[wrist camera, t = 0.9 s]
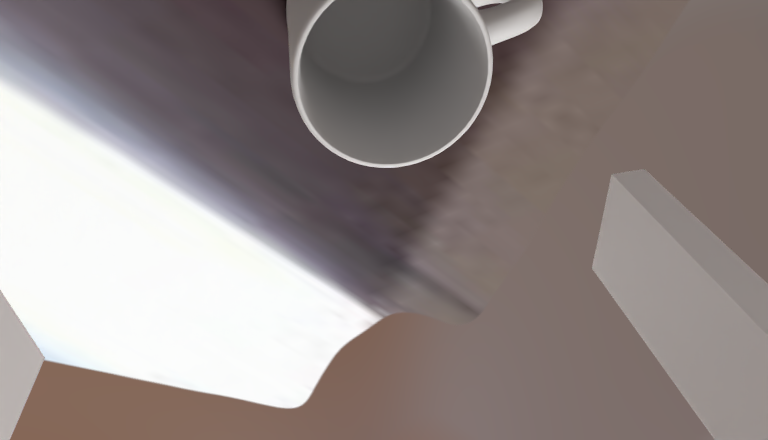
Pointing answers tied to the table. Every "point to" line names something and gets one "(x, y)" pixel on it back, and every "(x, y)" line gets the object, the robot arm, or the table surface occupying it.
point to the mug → (396, 71)
